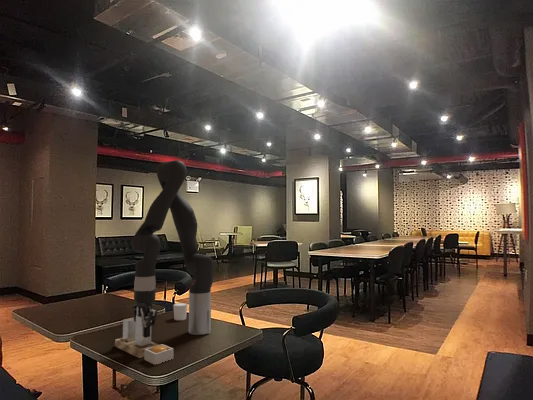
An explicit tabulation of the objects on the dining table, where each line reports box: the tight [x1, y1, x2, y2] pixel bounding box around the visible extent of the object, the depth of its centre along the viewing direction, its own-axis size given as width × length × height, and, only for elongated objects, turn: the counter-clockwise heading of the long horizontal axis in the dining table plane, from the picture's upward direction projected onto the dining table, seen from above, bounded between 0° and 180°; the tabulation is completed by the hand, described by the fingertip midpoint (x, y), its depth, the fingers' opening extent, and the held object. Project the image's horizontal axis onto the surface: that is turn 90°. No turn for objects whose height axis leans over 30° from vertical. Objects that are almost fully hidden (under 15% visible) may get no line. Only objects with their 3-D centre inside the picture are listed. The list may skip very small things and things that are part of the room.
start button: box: [152, 344, 167, 353], centre depth 122 cm, size 5×5×2 cm
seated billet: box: [122, 317, 136, 343], centre depth 135 cm, size 4×4×10 cm
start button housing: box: [143, 343, 175, 366], centre depth 122 cm, size 7×7×4 cm
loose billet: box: [135, 315, 152, 346], centre depth 129 cm, size 4×4×10 cm
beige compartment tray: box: [114, 337, 160, 359], centre depth 131 cm, size 18×8×2 cm, turn 49°
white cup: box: [172, 302, 188, 321], centre depth 173 cm, size 7×7×7 cm
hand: (143, 335), depth 128 cm, fingers closed on loose billet, 4 cm apart
